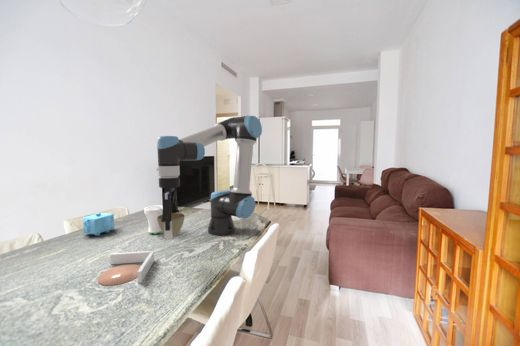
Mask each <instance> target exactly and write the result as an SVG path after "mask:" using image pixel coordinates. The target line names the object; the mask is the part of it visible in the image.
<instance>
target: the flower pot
mask: <svg viewBox="0 0 520 346" xmlns="http://www.w3.org/2000/svg"><path fill="white" fill-rule="evenodd" d="M161 220H162V215H160V216H158V217H157V221H158V225H159V227H160V229H161V231H162V234H163V235H164V222H161ZM171 221H172V233H173V237H174V236H177V235H178V234H179V233H180V231H181V230H182V226H183V224H184V221H185V214H184V213H180V212H177V213H172V215H171Z"/></svg>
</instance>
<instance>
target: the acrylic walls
mask: <svg viewBox="0 0 520 346" xmlns="http://www.w3.org/2000/svg"><path fill="white" fill-rule="evenodd" d="M109 260H110V265H120V264H121V265H124V264H137V263H142V264H141V265H140V266H141V267H140V268H139V270H138V271H137V277H136V279H137V284H141V283H142V282H143V281H144V279H145V278H146V276H147V275H148V272H149V271H150V269H151V267H152V265H153V264H154V263H155V253H154V251H152V250H145V251H143V250H142V251H128V252H125V251H124V252H113V253H110V259H109Z"/></svg>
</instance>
